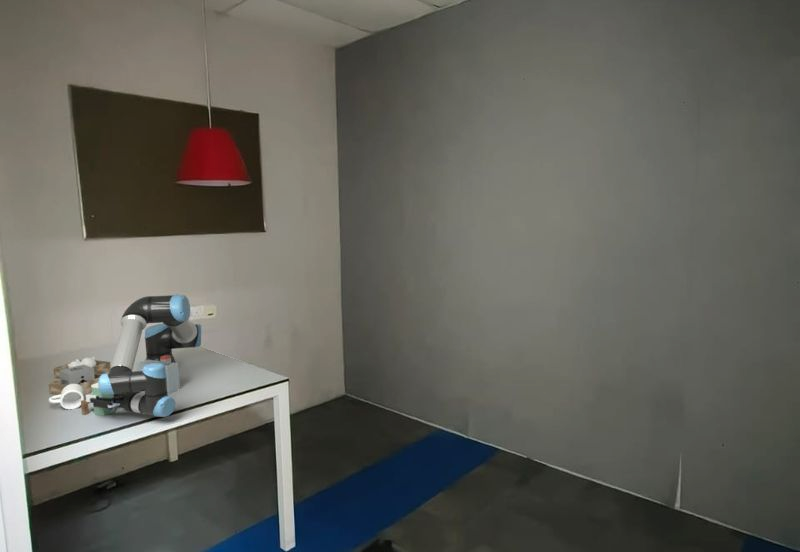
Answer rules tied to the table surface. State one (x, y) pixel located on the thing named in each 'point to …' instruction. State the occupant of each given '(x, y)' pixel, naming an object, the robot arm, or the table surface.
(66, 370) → the icon cube
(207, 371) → the table surface
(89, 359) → the cat figurine
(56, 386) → the corral
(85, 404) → the handrail
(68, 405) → the mug
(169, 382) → the end cabinet
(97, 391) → the green rectangular block
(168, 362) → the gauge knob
